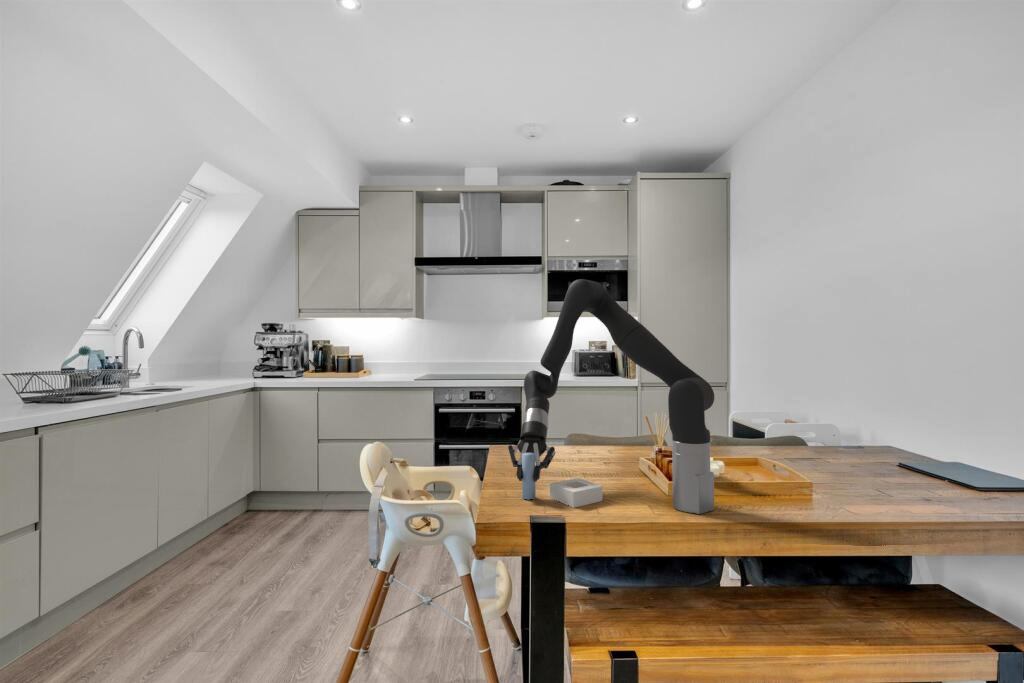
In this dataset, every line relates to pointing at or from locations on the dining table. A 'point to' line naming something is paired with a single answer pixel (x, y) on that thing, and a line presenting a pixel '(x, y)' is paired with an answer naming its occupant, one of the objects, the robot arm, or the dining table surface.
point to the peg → (528, 476)
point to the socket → (576, 492)
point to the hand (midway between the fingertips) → (527, 479)
